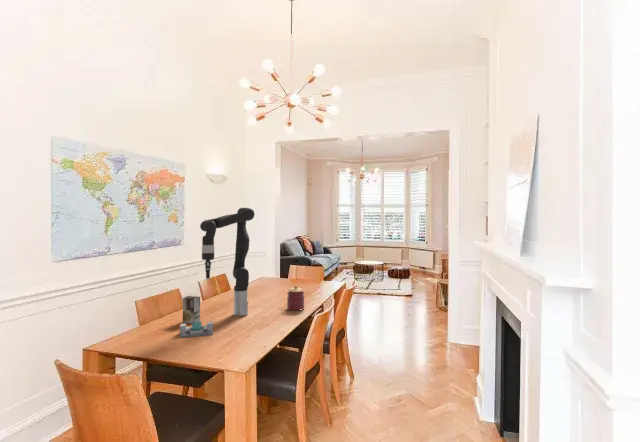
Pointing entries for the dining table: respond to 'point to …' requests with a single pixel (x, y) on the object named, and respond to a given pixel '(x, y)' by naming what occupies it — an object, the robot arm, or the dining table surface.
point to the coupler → (196, 325)
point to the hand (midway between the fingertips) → (207, 277)
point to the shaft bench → (203, 332)
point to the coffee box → (191, 309)
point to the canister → (295, 298)
